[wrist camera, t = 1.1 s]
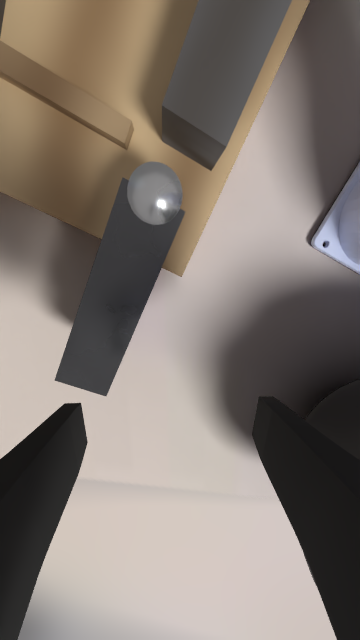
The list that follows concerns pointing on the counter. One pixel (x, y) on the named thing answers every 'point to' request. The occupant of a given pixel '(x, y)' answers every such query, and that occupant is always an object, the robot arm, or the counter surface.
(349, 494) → the robot arm
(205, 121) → the wooden board with bars
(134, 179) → the hinged leg
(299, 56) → the counter surface
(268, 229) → the counter surface
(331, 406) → the coal bowl
